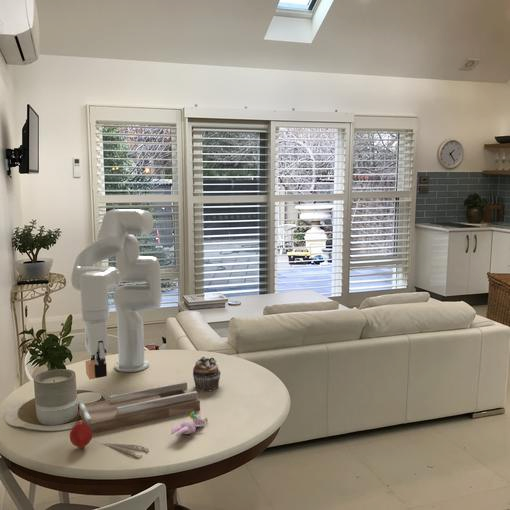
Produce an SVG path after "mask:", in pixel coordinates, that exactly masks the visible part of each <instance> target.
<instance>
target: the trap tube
mask: <svg viewBox="0 0 510 510" xmlns="http://www.w3.org/2000/svg"><path fill="white" fill-rule="evenodd" d="M197 391H198V390H195V391H191V390H190V389H189V388H188V382H187V381H181V382H175V383H171V384H170V383H169V384H164V385H161V386H160V385H159V386H155V387H150V388H144V389H138V390H134V391H128V392H125V393H119V394H113V395H110V396H109V399H105V400H100V401H94V402H90V403H89V402H88V403H85V402H84V401H83V400H78V409H79V410H78V412H79V417H80V416H81V417H80V419H81V418H82V419H81V420H83V422H84V423H86V424H87V425H89V426H90V428H91V430H92V434H96V433H100V432H104V431H108V430H112V429H118V428H123V427H127V426H132V425H136V424H141V423H145V422H146V423H147V422H150V420H151V421H155V420H158V419H159V420H160V419H164V418H167V417H172V416H177V415H178V416H179V415H182V414H187V413H192V412H195V410H196V411H199V410H200V409H201V402H200V401H201V400H200V399H199V398H198V392H197ZM191 411H192V412H191Z"/></svg>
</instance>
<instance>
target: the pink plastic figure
mask: <svg viewBox="0 0 510 510" xmlns="http://www.w3.org/2000/svg"><path fill="white" fill-rule="evenodd" d="M189 417H190V419H192V421H190V420H184V421H182V422H180V424H178V425H175V426H173V427H172V428H171V431H170V435H174V434H175V436H179V435H180V434H184V435H190V434H193V433H195V432H196V428H201V427H205V424H207V423H208V418H207V417H205V418H202V417H201V416H200V415H199V416H197V415H196V414H195V411H192V412H190V414H189Z"/></svg>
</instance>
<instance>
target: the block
mask: <svg viewBox="0 0 510 510" xmlns="http://www.w3.org/2000/svg"><path fill="white" fill-rule="evenodd" d="M95 364H96V362H95V359H94V360H91V359H87V360H85V372H86V373H85V374H86V376H87V377H88V380H93V379H94V380H95V379H97V378H96V377H95ZM106 370H107V366H106ZM107 371H108V370H107ZM105 377H107V376H105ZM100 378H102V377H99V378H98V379H100Z"/></svg>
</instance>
